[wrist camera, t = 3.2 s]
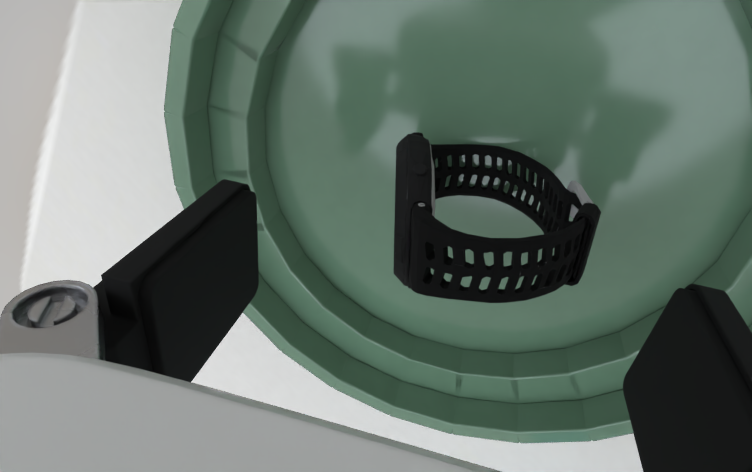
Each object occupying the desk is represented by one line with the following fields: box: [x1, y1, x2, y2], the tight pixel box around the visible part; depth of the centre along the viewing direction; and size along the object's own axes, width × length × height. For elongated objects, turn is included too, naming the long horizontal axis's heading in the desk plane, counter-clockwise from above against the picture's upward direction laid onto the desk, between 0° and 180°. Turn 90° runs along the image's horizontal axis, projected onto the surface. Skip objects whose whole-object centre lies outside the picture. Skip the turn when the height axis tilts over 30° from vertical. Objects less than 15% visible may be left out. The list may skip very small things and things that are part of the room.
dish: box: [164, 0, 752, 443], centre depth 13 cm, size 17×17×3 cm
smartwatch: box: [393, 132, 601, 303], centre depth 12 cm, size 4×5×5 cm
